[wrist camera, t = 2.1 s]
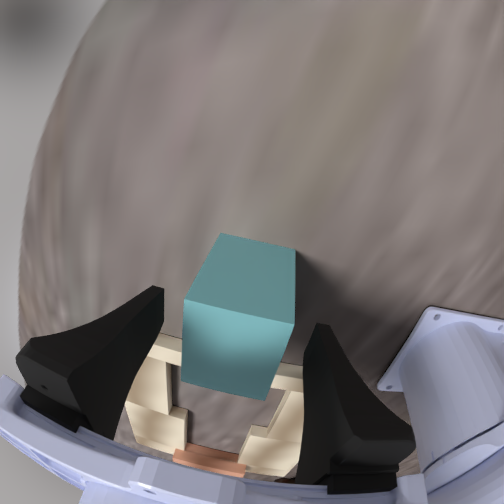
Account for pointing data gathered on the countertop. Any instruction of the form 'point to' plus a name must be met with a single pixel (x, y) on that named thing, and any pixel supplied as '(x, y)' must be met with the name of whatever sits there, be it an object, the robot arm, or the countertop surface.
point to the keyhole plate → (175, 418)
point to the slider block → (239, 317)
